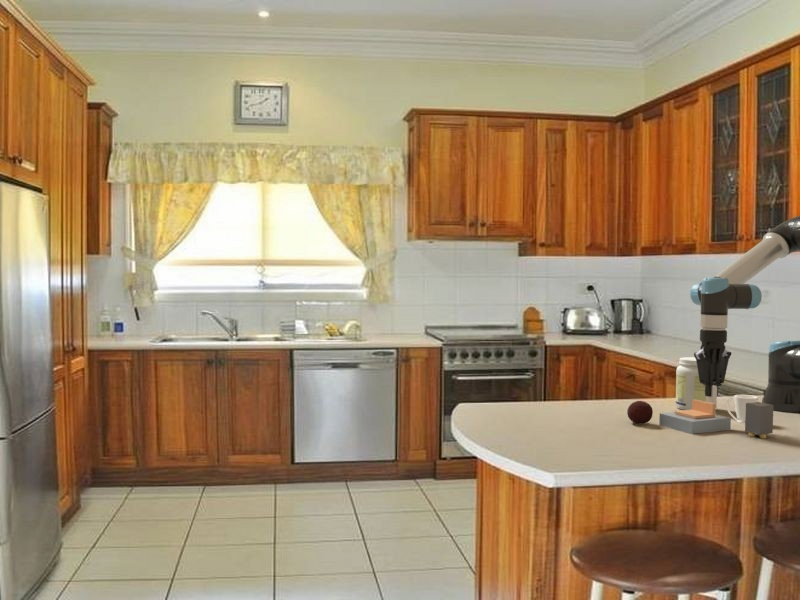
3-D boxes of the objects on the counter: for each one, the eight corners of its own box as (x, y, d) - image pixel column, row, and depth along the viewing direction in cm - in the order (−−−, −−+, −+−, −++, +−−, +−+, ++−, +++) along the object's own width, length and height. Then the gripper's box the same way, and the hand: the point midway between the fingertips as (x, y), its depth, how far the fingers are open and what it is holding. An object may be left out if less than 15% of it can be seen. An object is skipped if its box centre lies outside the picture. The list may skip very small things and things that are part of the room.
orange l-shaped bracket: (694, 411, 233) (695, 399, 233) (715, 416, 226) (715, 403, 226) (674, 413, 230) (674, 401, 230) (694, 418, 223) (695, 405, 223)
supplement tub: (717, 408, 259) (718, 358, 258) (710, 414, 249) (711, 362, 248) (679, 404, 266) (681, 355, 265) (671, 409, 255) (672, 359, 255)
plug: (757, 433, 220) (758, 401, 220) (772, 437, 216) (773, 404, 215) (744, 435, 218) (745, 403, 218) (759, 438, 214) (760, 406, 213)
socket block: (696, 421, 237) (697, 409, 237) (730, 429, 225) (730, 417, 225) (659, 424, 231) (659, 413, 231) (691, 433, 219) (692, 421, 219)
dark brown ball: (653, 422, 235) (654, 399, 234) (650, 427, 228) (651, 404, 227) (629, 420, 238) (629, 397, 237) (625, 425, 231) (625, 401, 230)
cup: (748, 425, 231) (748, 399, 231) (719, 419, 240) (720, 394, 240) (762, 423, 235) (763, 397, 234) (734, 417, 243) (735, 392, 243)
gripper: (719, 327, 236) (717, 403, 237) (687, 328, 230) (685, 406, 231) (739, 329, 229) (737, 407, 230) (706, 330, 223) (704, 410, 225)
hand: (711, 407), depth 231 cm, fingers closed
